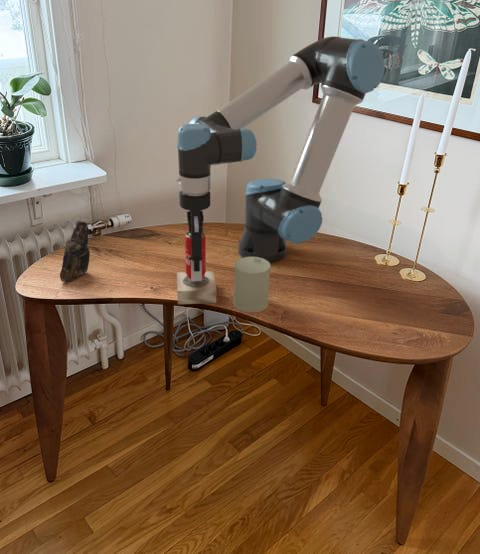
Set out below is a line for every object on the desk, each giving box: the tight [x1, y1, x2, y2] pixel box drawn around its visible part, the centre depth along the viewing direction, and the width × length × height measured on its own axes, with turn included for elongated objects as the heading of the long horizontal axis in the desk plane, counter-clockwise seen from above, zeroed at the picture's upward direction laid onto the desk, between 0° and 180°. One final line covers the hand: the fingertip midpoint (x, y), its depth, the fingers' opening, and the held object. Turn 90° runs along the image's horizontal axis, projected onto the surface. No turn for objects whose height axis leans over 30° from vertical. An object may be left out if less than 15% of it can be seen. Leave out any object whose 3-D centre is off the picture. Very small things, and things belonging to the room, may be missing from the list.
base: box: [176, 270, 217, 305], centre depth 139 cm, size 10×10×4 cm
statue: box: [59, 220, 91, 283], centre depth 144 cm, size 6×12×15 cm, turn 155°
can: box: [233, 257, 271, 314], centre depth 134 cm, size 9×9×12 cm
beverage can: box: [184, 231, 207, 279], centre depth 135 cm, size 5×5×12 cm
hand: (196, 274), depth 137 cm, fingers closed on beverage can, 5 cm apart
